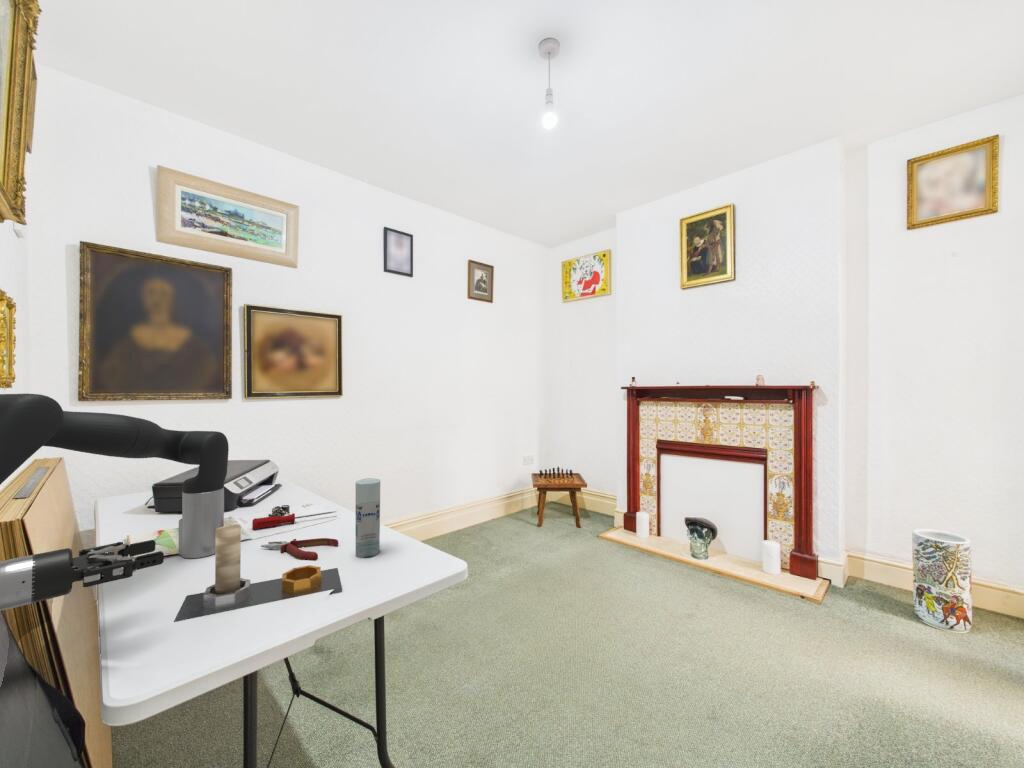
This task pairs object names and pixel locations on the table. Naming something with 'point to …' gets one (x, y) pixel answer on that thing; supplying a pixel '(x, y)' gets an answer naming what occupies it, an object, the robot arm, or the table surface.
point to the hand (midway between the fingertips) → (159, 550)
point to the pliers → (294, 547)
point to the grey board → (261, 592)
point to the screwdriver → (278, 520)
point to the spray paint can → (367, 517)
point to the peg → (227, 559)
